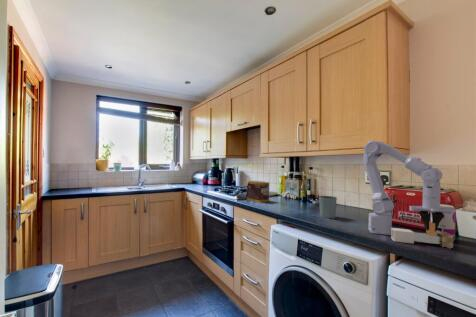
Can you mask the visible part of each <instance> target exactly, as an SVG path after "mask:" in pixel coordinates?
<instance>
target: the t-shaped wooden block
mask: <svg viewBox="0 0 476 317" xmlns="http://www.w3.org/2000/svg"><path fill="white" fill-rule="evenodd" d="M413 232H414V242H417V243H427V244H434V245H435V244H436V245H438V244H442V236H441V235H435V223H433V222H431V221H429V230H426V229H425V232H415V231H413Z"/></svg>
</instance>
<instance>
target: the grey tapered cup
mask: <svg viewBox="0 0 476 317" xmlns="http://www.w3.org/2000/svg"><path fill="white" fill-rule="evenodd" d="M337 200H338V197H337V196H332V195H331V196H330V195H319V196H318V202H319V203H318V204H319V216H320V218H324V219H330V218H332V219H336V211H337Z"/></svg>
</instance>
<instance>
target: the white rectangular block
mask: <svg viewBox="0 0 476 317" xmlns="http://www.w3.org/2000/svg"><path fill="white" fill-rule="evenodd" d="M414 232H415V231H413V230H411V229H408V228H407V229H406V228H399V227H397V228H396V227H392V228H391V235H390V237H391V240H392V241H393V242H398V243H407V244H413V245H414V244H415V241H414Z"/></svg>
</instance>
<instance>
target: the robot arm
mask: <svg viewBox="0 0 476 317" xmlns="http://www.w3.org/2000/svg"><path fill="white" fill-rule="evenodd" d="M363 150H364V151H363V155H362V156H363V157H362V163H363V166H364V169H365V173H366V175H367V179H368V182H369V185H370V189H371V191H372V192H371V193H372V197H371V203H372V204H371V208H372V210H373V212H369V213H368V228H367V229H368V231H369V232H370V233H371V234H379V235H387V236H388V235H389V236H391V228H393V227H392V225H393V223H392V222H393V213H392V211H393V210H394V209H395V204H394V202H393V201H392V200H391V198H390V196H389V195H388V193H387V192H386V190H385V187H384V183H383V180H382V178H381V175H380V174H381V173H380V172H379V169H378V166H377V160H378V159H379V158H380V157H381V156H382V155H385V154H386V155H389V156H390V157H393V158H394V159H396V160H398V161H400V162H402V163H403V164H404V168H406V170H409V171H411V172H412V173H413V174H415V175H417V176H419V177H420V178H421V180H422V205H409V211H411V212H418V214H419V215H420V217H421V219H422V223H423V225H424V230H425V231H426V230H429V222H430V220H431V212H432V222H433V223H435V231H437V228H438V225H439V223H440V221H441V220H442V219H443V217H444V214H443V213H446V214H454V210H453V209H447V208H440V204H441V190H442V189H441V180H442V179H443V172H442V171H441V170H440V169H439V168H436V167H433V165H432V164H428V163H426V162H424V161H422V158H420V157H415V156H413V157H410V156H408V155H406V154H405V153H403V152H401V151H400V150H399V149H397V148H395V147H393V146H392V145H390V144H387V143H385V142H383V141H377V140H369V141H368V142H367V143H366V144H365V145H364V146H363ZM438 211H439V212H438Z"/></svg>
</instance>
